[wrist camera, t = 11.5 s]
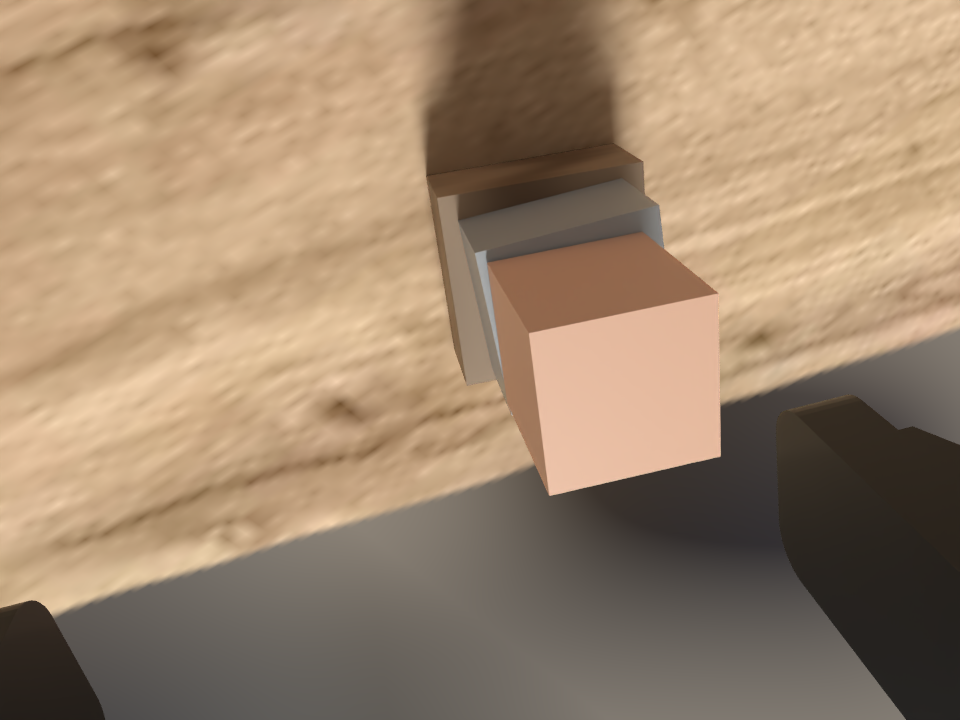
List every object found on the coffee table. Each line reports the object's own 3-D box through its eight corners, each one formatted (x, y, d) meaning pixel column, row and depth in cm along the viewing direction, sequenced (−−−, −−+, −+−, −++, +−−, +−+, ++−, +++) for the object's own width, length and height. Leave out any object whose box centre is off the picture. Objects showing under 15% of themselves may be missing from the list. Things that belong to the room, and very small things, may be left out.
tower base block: (610, 141, 36) (643, 161, 32) (621, 313, 39) (651, 349, 36) (425, 173, 35) (437, 197, 31) (453, 346, 38) (466, 385, 35)
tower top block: (621, 178, 32) (659, 204, 29) (642, 328, 35) (678, 369, 32) (458, 220, 32) (474, 253, 28) (492, 368, 35) (511, 415, 31)
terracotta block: (642, 231, 29) (718, 293, 24) (650, 371, 31) (720, 456, 26) (486, 262, 28) (528, 333, 23) (507, 402, 31) (549, 495, 26)
